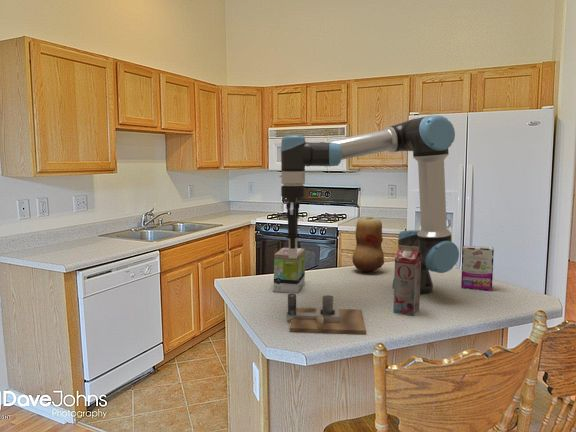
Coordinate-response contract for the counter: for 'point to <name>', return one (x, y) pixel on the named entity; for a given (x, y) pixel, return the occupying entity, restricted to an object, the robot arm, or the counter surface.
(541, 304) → the counter surface
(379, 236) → the butternut squash
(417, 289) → the juice carton
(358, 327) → the board
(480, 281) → the candy bar box
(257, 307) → the counter surface
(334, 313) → the square frame with handle
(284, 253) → the tea box
